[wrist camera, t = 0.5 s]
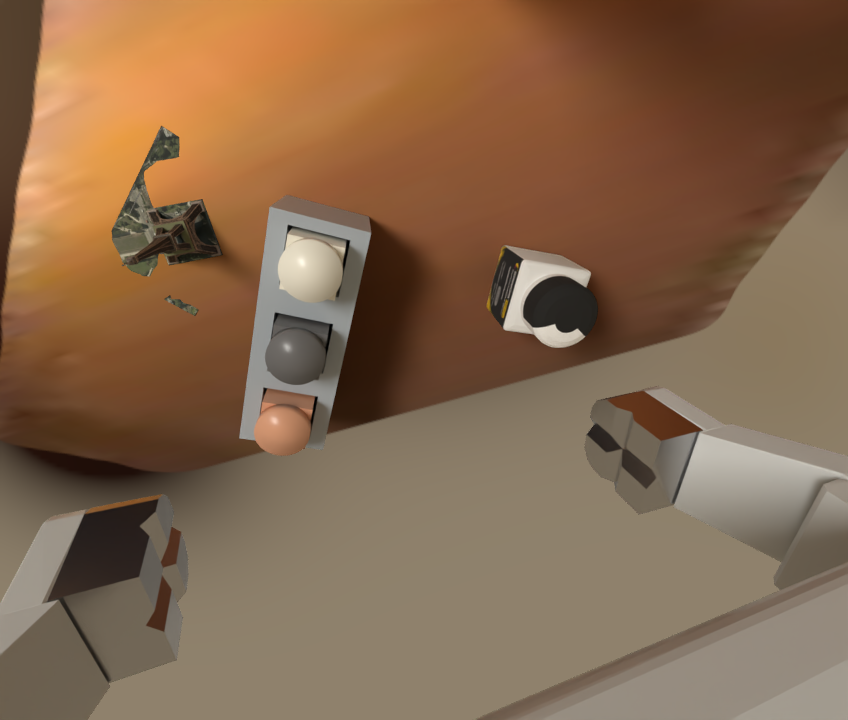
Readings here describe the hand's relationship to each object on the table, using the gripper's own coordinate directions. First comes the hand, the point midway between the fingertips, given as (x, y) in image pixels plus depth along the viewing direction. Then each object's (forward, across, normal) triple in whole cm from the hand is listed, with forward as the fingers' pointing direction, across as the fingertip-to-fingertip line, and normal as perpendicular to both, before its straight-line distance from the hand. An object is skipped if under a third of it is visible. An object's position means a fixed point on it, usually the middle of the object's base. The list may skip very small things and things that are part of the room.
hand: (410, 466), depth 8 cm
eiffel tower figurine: (+43, +9, +3) cm, 44 cm away
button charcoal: (+36, 0, +12) cm, 38 cm away
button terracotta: (+36, +2, +19) cm, 41 cm away
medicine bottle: (+36, -24, +10) cm, 44 cm away
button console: (+40, -1, +12) cm, 42 cm away
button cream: (+35, -2, +4) cm, 36 cm away
